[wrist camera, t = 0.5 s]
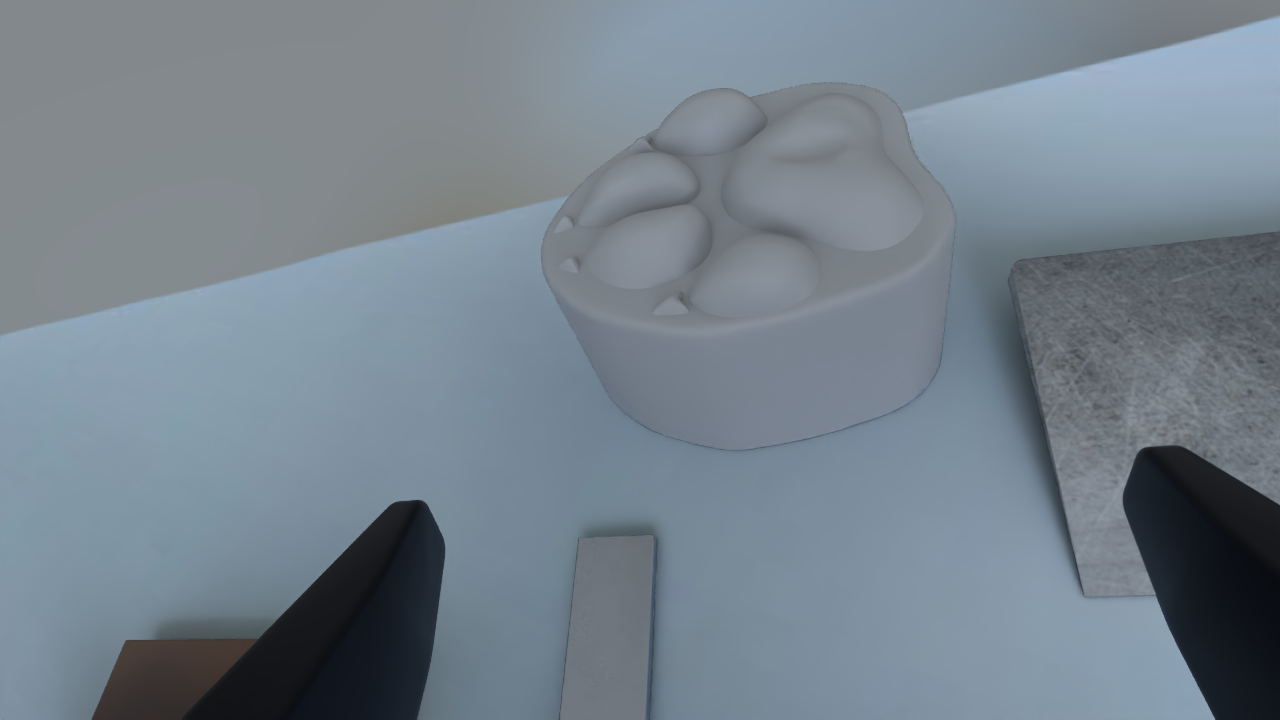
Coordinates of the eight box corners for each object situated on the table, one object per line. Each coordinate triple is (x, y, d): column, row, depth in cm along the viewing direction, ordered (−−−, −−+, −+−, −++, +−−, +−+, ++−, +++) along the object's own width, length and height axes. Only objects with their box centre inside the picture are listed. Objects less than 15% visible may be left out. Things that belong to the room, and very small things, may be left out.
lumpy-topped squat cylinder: (967, 400, 26) (999, 227, 19) (612, 484, 28) (525, 352, 21) (875, 203, 32) (874, 18, 25) (590, 281, 34) (517, 128, 27)
